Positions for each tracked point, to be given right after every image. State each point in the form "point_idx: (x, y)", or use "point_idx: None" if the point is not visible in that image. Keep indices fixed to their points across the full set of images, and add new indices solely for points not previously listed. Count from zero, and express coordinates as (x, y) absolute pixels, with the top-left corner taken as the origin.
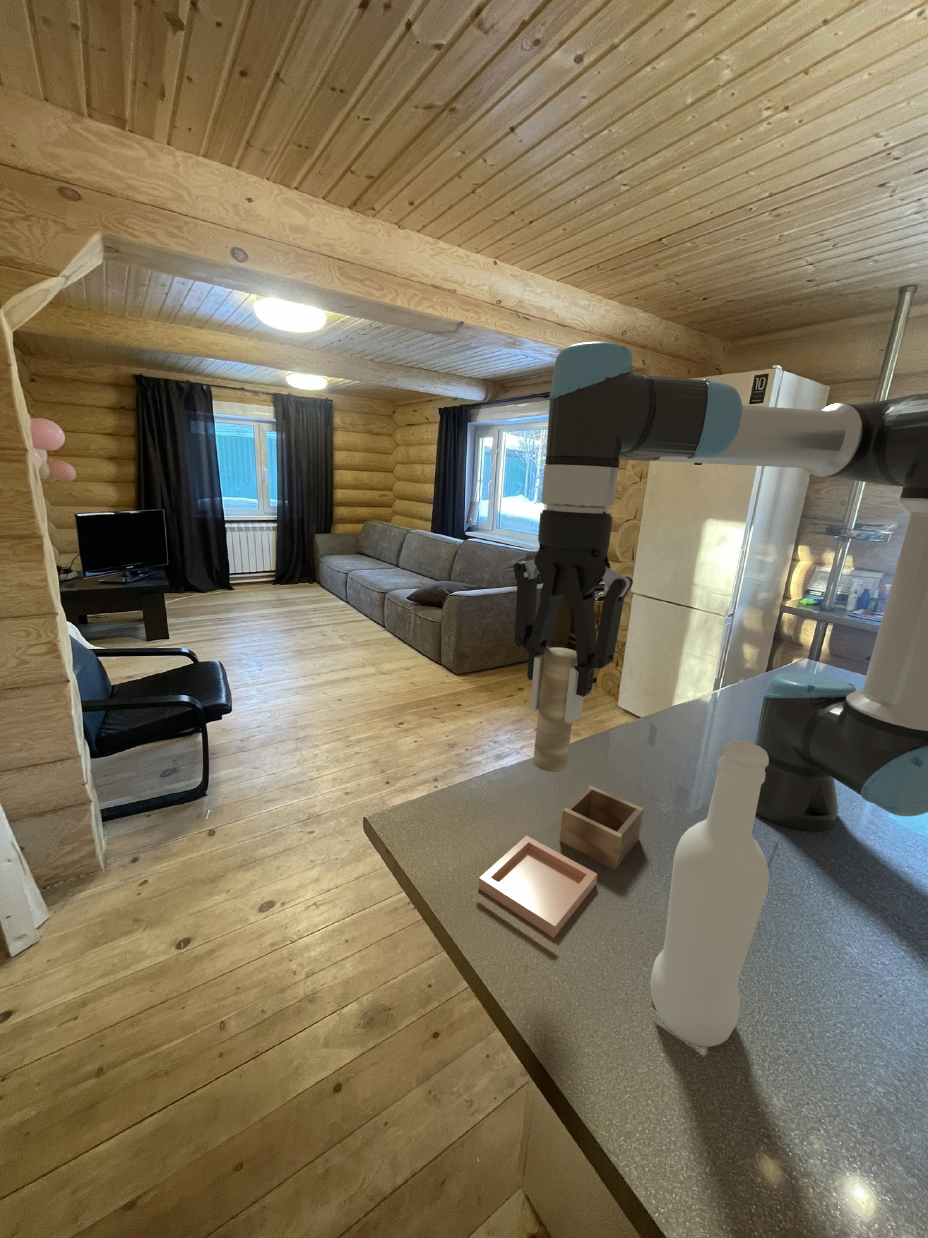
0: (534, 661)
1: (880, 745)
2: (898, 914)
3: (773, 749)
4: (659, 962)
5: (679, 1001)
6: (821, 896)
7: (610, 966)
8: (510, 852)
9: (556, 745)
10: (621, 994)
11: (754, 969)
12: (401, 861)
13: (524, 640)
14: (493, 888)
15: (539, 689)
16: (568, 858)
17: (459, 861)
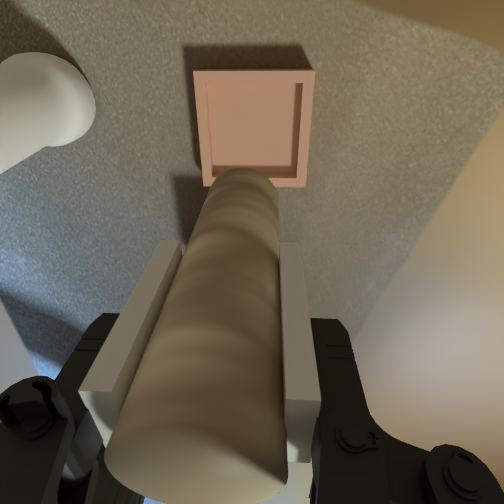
0: (317, 381)
1: None
2: (21, 316)
3: None
4: (63, 89)
5: (25, 57)
6: (64, 302)
7: (138, 89)
8: (306, 145)
9: (208, 203)
10: (110, 63)
11: (53, 187)
12: (443, 33)
13: (430, 496)
14: (289, 70)
15: (280, 297)
16: None
17: (365, 100)
